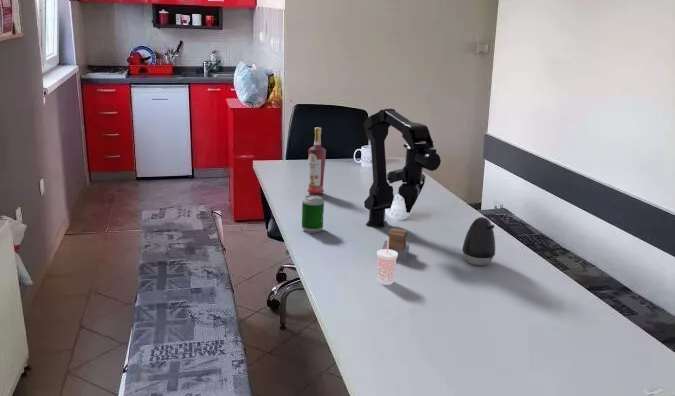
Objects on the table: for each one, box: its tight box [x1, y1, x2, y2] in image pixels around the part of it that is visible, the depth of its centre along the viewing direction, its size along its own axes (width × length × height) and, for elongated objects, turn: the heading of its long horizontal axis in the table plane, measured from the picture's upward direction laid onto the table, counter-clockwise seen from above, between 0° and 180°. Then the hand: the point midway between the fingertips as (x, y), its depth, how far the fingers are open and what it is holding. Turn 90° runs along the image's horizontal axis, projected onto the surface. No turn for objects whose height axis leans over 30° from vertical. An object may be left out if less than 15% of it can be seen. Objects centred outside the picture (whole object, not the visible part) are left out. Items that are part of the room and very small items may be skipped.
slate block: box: [382, 239, 410, 262], centre depth 204 cm, size 8×8×4 cm
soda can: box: [301, 194, 325, 234], centre depth 221 cm, size 8×8×12 cm
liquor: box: [307, 126, 327, 196], centre depth 260 cm, size 7×7×28 cm
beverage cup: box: [376, 235, 398, 286], centre depth 182 cm, size 6×6×14 cm
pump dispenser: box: [461, 216, 496, 267], centre depth 199 cm, size 10×10×15 cm
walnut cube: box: [387, 228, 408, 250], centre depth 202 cm, size 5×5×5 cm
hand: (410, 208), depth 211 cm, fingers open, 9 cm apart
